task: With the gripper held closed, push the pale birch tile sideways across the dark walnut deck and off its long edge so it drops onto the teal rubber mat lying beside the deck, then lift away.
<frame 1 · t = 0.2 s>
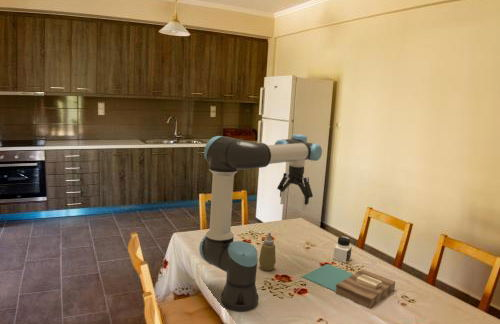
hand: (293, 207, 195), 28 cm above the table, tool pointing down, fingers open, 13 cm apart
mat: (331, 277, 182), on the table
squeeze bottle: (266, 268, 187), on the table
tile: (368, 283, 169), point 4 cm above the table, touching deck
deck: (365, 291, 171), on the table
medicine bottle: (341, 259, 204), on the table
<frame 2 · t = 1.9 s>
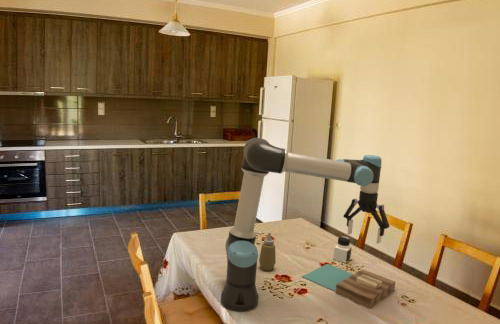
hand: (363, 238, 170), 23 cm above the table, tool pointing down, fingers open, 13 cm apart
nothing on the table moved.
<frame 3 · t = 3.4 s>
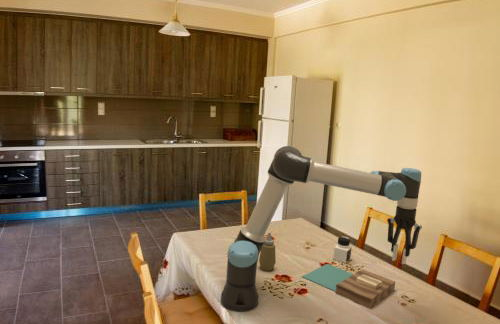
hand: (398, 261, 159), 19 cm above the table, tool pointing down, fingers open, 3 cm apart
nothing on the table moved.
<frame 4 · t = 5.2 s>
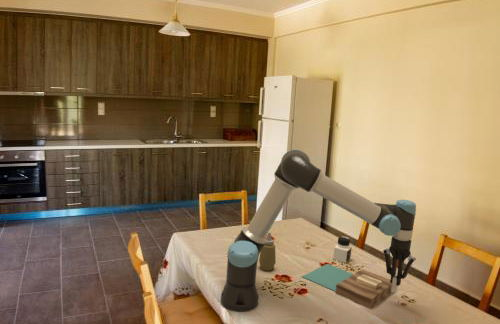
hand: (394, 291, 162), 5 cm above the table, tool pointing down, fingers closed
nothing on the table moved.
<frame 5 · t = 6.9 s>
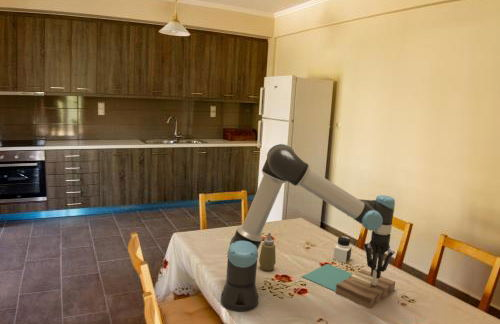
hand: (374, 284, 168), 5 cm above the table, tool pointing down, fingers closed
tile: (363, 281, 171), point 4 cm above the table
everything else where it was.
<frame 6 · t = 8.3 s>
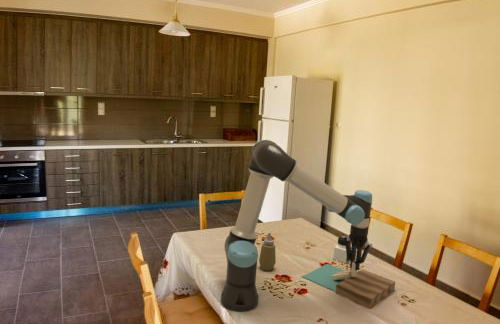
hand: (353, 275, 174), 5 cm above the table, tool pointing down, fingers closed
tile: (344, 277, 178), point 2 cm above the table, tilted 28°, touching gripper
everything else where it was.
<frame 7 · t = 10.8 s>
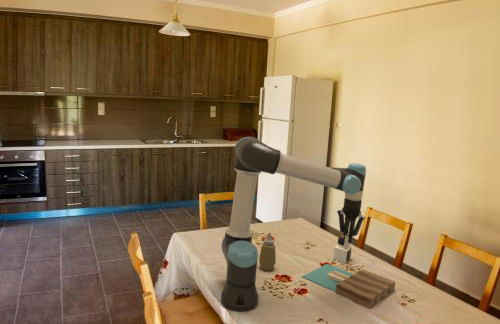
hand: (346, 248, 175), 16 cm above the table, tool pointing down, fingers closed
tile: (338, 279, 180), resting on mat
everything else where it was.
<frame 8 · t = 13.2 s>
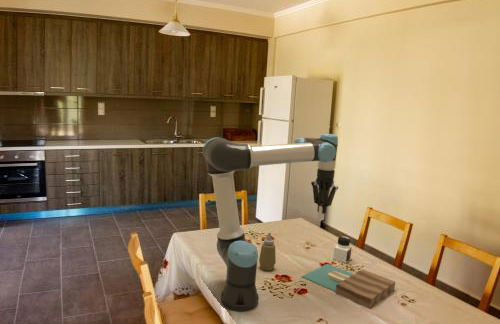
hand: (320, 219, 176), 28 cm above the table, tool pointing down, fingers closed
nothing on the table moved.
at the end: tile resting on mat; tile inside the target area (4.1 cm from its centre), resting on mat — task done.
